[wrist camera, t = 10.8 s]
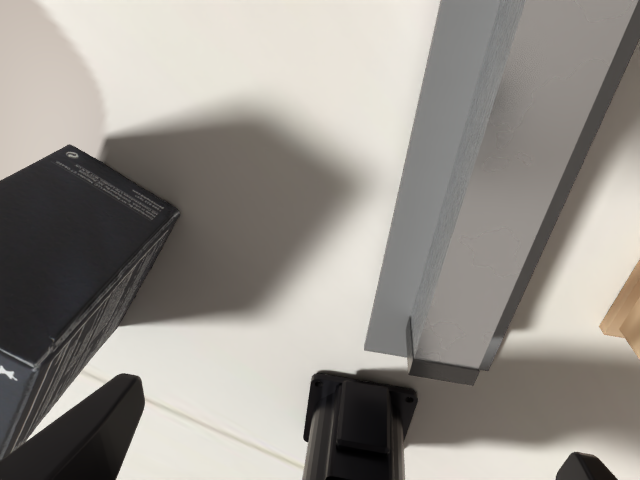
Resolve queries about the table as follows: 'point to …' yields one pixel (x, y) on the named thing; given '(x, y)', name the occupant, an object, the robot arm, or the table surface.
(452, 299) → the rail
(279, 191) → the table surface
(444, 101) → the mat
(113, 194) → the small box
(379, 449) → the robot arm
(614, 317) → the cradle stand
